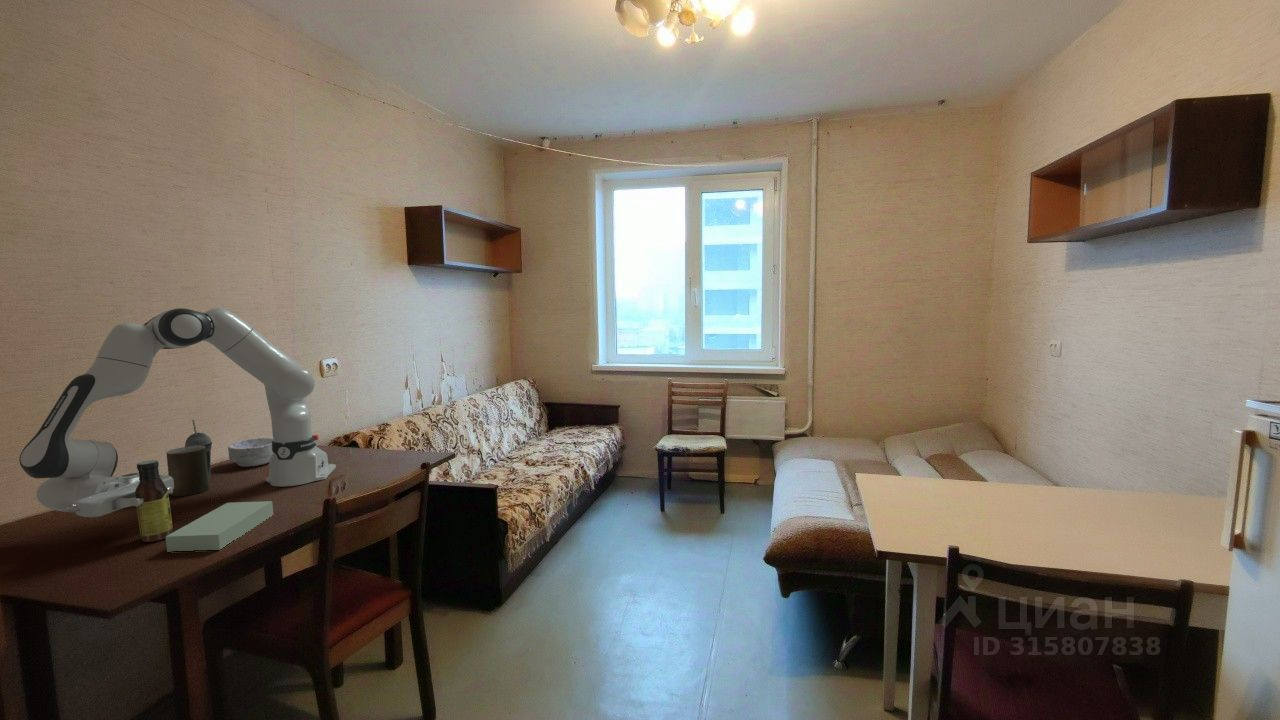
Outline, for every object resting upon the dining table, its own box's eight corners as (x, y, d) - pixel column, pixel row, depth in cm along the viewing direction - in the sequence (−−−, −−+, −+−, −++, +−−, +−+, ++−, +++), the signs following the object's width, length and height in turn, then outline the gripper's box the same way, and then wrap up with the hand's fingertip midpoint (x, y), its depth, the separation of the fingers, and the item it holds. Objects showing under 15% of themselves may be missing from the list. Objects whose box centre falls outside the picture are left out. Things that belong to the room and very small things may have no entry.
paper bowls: (255, 470, 195) (254, 448, 194) (218, 468, 197) (216, 447, 196) (289, 458, 210) (287, 438, 209) (254, 456, 212) (253, 436, 211)
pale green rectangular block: (228, 516, 153) (227, 502, 152) (273, 514, 154) (272, 501, 153) (167, 552, 131) (165, 536, 131) (220, 550, 132) (218, 534, 131)
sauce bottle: (178, 535, 141) (170, 460, 138) (148, 545, 135) (140, 467, 133) (164, 531, 143) (156, 457, 141) (135, 540, 138) (126, 463, 136)
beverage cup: (200, 481, 183) (194, 423, 181) (182, 480, 184) (176, 422, 182) (220, 474, 190) (215, 418, 188) (203, 473, 191) (198, 417, 189)
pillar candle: (208, 492, 172) (204, 445, 171) (167, 499, 167) (163, 450, 165) (210, 484, 180) (206, 439, 179) (172, 490, 175) (167, 444, 173)
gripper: (57, 497, 129) (111, 499, 127) (144, 470, 149) (190, 471, 148) (61, 523, 129) (114, 525, 128) (146, 492, 150) (193, 494, 148)
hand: (155, 496), depth 138 cm, fingers closed on sauce bottle, 6 cm apart
